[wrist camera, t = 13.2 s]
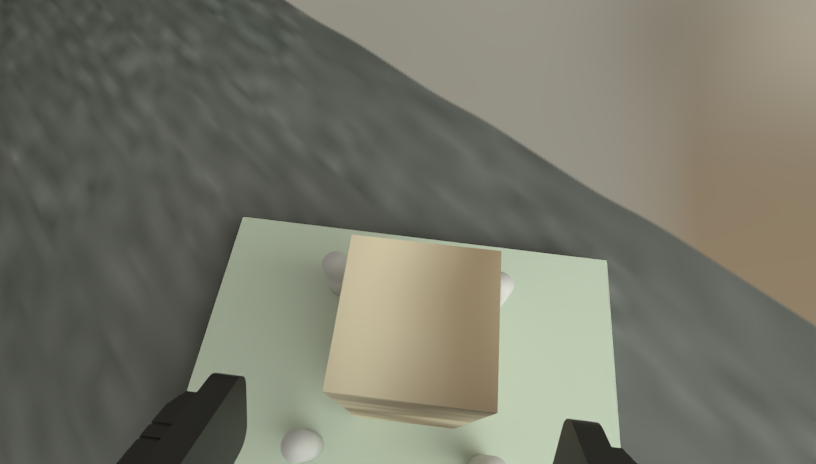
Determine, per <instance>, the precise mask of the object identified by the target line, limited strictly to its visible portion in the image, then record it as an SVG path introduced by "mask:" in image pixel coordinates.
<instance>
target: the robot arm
mask: <svg viewBox="0 0 816 464" xmlns="http://www.w3.org/2000/svg"><path fill="white" fill-rule="evenodd" d="M246 431H247V398H246V380H245V377H244V376H238V375H230V374H222V373H212V374H211V375H210V376H209V377H208V378H207V380H206V381H205V382H204V384H203V385H202V386H201V387H200V389H199V390H198V391H197V392H191V391H186V392H185V393H183V394H182V395H180V396H178V397H177V398H175V399H174V400H172V401H171V402H169V403H168V404H166V405H165V407H164V408H163V409H162V410H161V411H160V413H159V414H158V415H157V416H156V417H155V419H154V420H153V421H152V424H151V425H149V426H148V427H147V428H146V429H145V430H144V432H143V433H142V434H141V435H140V438H139V439H137V440H136V441H135V442H134V443H133V445H132V446H131V447H130V448H129V449H128V451H127V452H126V453H125V454H124V455H123V457H122V458H121V459H120V460H119V461H118V462H117V464H234V462H235V461H236V459H237V457H238V455H239V453H240V451H241V449H242V446H243V444H244V440H245V437H246ZM553 464H637V463H636V462H635V461H634V460H633V459H632V458H631V457H630V456H629V455H628V454H627V453H626V452H625V451H624V450H623V449H622V448H616V447H611V445H610V443H609V441H608V438H607V436H606V434H605V432H604V430H603V428H602V426H601V425H600V424H599V423H598V422H591V421H583V420H575V419H566V420H565V421H564V423H563V427H562V430H561V434H560V438H559V442H558V446H557V449H556V453H555V457H554V461H553Z"/></svg>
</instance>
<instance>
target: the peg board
mask: <svg viewBox="0 0 816 464" xmlns="http://www.w3.org/2000/svg"><path fill="white" fill-rule="evenodd" d="M351 235H360V236H369V237H378V238H387V239H396V240H405V241H414V242H424V243H433V244H442V245H451V246H460V247H469V248H478V249H487V250H496V251H501V290H500V332H499V373H498V413H496V414H493V415H491V416H488V417H485V418H482V419H480V420H477V421H474V422H472V423H469V424H466V425H463V426H461V427H458V428H455V429H451V428H443V427H435V426H427V425H419V424H411V423H403V422H395V421H387V420H379V419H371V418H362V417H356V416H355V415H353V414H352V413H351V412H349V411H348V410H346V409H345V408H344V407H342V406H341V405H340V404H338V403H337V402H336V401H334V400H333V399H332V398H330V397H329V396H328V395H326V394H325V393H324V392H322V391H323V385H324V380H325V375H326V369H327V364H328V358H329V353H330V348H331V342H332V337H333V332H334V326H335V321H336V316H337V310H338V305H339V300H340V294H341V289H342V283H343V278H344V273H345V267H346V262H347V257H348V251H349V246H350V241H351ZM212 373H222V374H230V375H238V376H244V377H245V380H246V398H247V431H246V437H245V440H244V444H243V446H242V449H241V451H240V453H239V455H238V457H237V459H236V461H235V462H234V464H553V461H554V457H555V453H556V449H557V446H558V442H559V438H560V434H561V430H562V427H563V423H564V421H565V420H566V419H575V420H583V421H591V422H598V423H599V424H600V425H601V426H602V428H603V430H604V432H605V434H606V436H607V438H608V441H609V443H610V445H611V447H616V448H621V447H620V434H619V420H618V407H617V393H616V380H615V366H614V353H613V339H612V326H611V312H610V299H609V285H608V272H607V261H605V260H597V259H589V258H580V257H572V256H564V255H556V254H547V253H539V252H531V251H522V250H514V249H506V248H498V247H489V246H481V245H473V244H464V243H456V242H448V241H440V240H431V239H423V238H415V237H406V236H398V235H390V234H382V233H373V232H365V231H357V230H348V229H340V228H332V227H324V226H315V225H307V224H299V223H290V222H282V221H274V220H266V219H257V218H249V217H243V219H242V222H241V225H240V228H239V231H238V234H237V237H236V240H235V243H234V247H233V250H232V253H231V256H230V259H229V262H228V265H227V268H226V271H225V274H224V277H223V280H222V284H221V287H220V290H219V293H218V296H217V299H216V302H215V305H214V308H213V311H212V314H211V318H210V321H209V324H208V327H207V330H206V333H205V336H204V339H203V342H202V345H201V348H200V352H199V355H198V358H197V361H196V364H195V367H194V370H193V373H192V376H191V379H190V382H189V385H188V389H187V391H191V392H197V391H198V390H199V389H200V387H201V386H202V385H203V384H204V382H205V381H206V380H207V378H208V377H209V376H210V375H211V374H212Z"/></svg>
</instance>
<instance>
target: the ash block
mask: <svg viewBox="0 0 816 464" xmlns="http://www.w3.org/2000/svg"><path fill="white" fill-rule="evenodd" d="M500 290H501V251H496V250H487V249H478V248H469V247H460V246H451V245H442V244H433V243H424V242H414V241H405V240H396V239H387V238H378V237H369V236H360V235H351V241H350V246H349V251H348V257H347V262H346V267H345V273H344V278H343V283H342V289H341V294H340V300H339V305H338V310H337V316H336V321H335V326H334V332H333V337H332V342H331V348H330V353H329V358H328V364H327V369H326V375H325V380H324V385H323V391H322V392H324V393H325V394H326V395H328V396H329V397H330V398H332V399H333V400H334V401H336V402H337V403H338V404H340V405H341V406H342V407H344V408H345V409H346V410H348V411H349V412H351V413H352V414H353V415H355V416H356V417H362V418H371V419H379V420H387V421H395V422H403V423H411V424H419V425H427V426H435V427H443V428H451V429H455V428H458V427H461V426H463V425H466V424H469V423H472V422H474V421H477V420H480V419H482V418H485V417H488V416H491V415H493V414H496V413H498V373H499V332H500Z"/></svg>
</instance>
